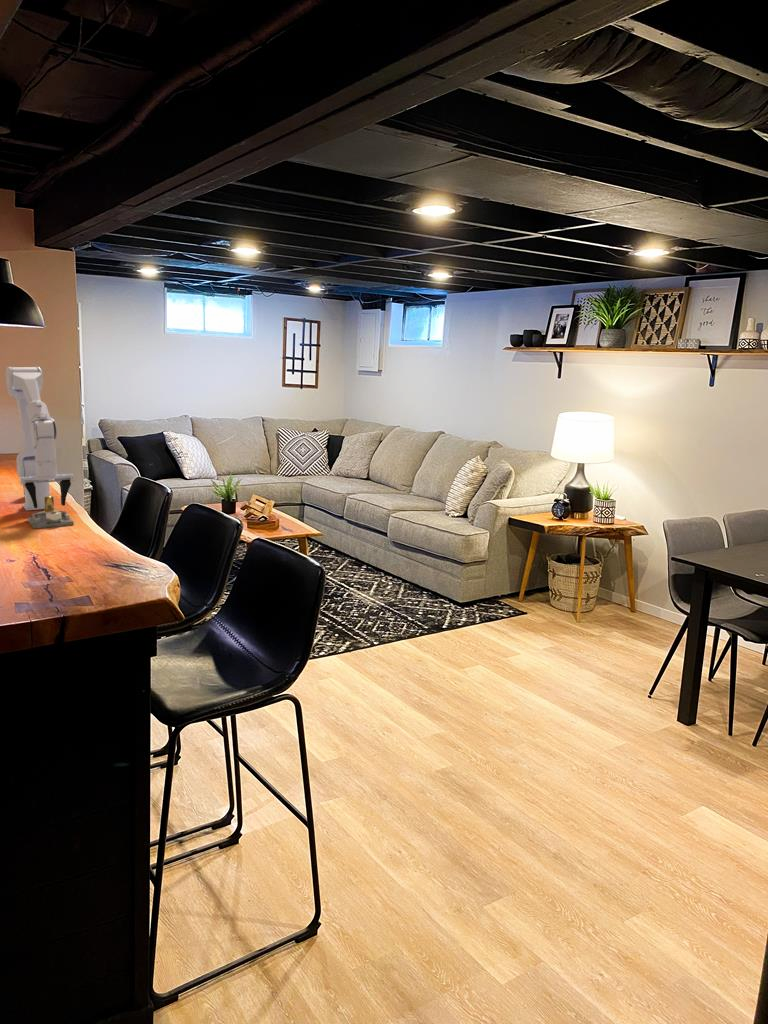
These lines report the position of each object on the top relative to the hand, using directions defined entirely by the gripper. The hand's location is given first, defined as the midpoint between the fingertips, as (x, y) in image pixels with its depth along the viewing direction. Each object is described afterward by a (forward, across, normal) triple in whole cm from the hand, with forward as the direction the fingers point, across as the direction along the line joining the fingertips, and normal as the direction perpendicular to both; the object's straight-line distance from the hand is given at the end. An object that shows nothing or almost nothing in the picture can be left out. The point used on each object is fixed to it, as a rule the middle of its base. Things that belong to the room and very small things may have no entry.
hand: (49, 506), depth 228 cm
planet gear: (+3, 0, 0) cm, 3 cm away
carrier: (+3, -2, -9) cm, 10 cm away
